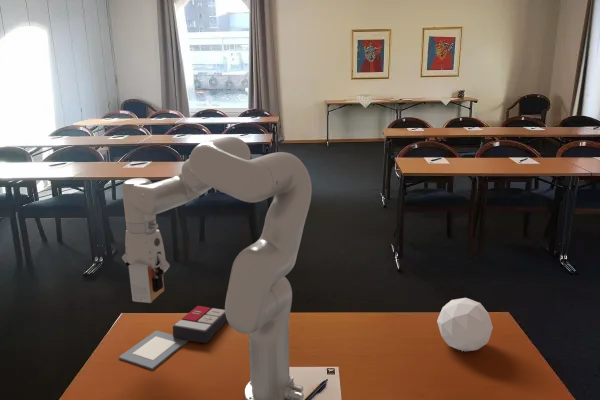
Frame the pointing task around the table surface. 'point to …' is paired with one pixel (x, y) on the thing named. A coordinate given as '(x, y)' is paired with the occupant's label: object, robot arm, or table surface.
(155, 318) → the table surface
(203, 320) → the calculator
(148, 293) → the small box
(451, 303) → the geometric sphere
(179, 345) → the board
